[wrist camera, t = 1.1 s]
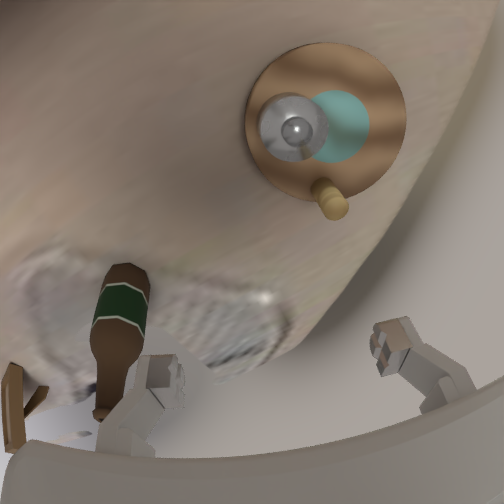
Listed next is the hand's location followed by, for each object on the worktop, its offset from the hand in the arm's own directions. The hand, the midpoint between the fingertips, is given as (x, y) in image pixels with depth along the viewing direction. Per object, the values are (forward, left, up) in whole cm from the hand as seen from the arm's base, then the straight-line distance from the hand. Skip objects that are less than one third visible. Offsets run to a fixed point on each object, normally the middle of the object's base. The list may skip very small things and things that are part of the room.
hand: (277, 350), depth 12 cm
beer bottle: (+24, -15, -29) cm, 40 cm away
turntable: (-2, +12, -27) cm, 30 cm away
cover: (-2, +6, -25) cm, 26 cm away
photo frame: (+69, -62, -29) cm, 97 cm away
